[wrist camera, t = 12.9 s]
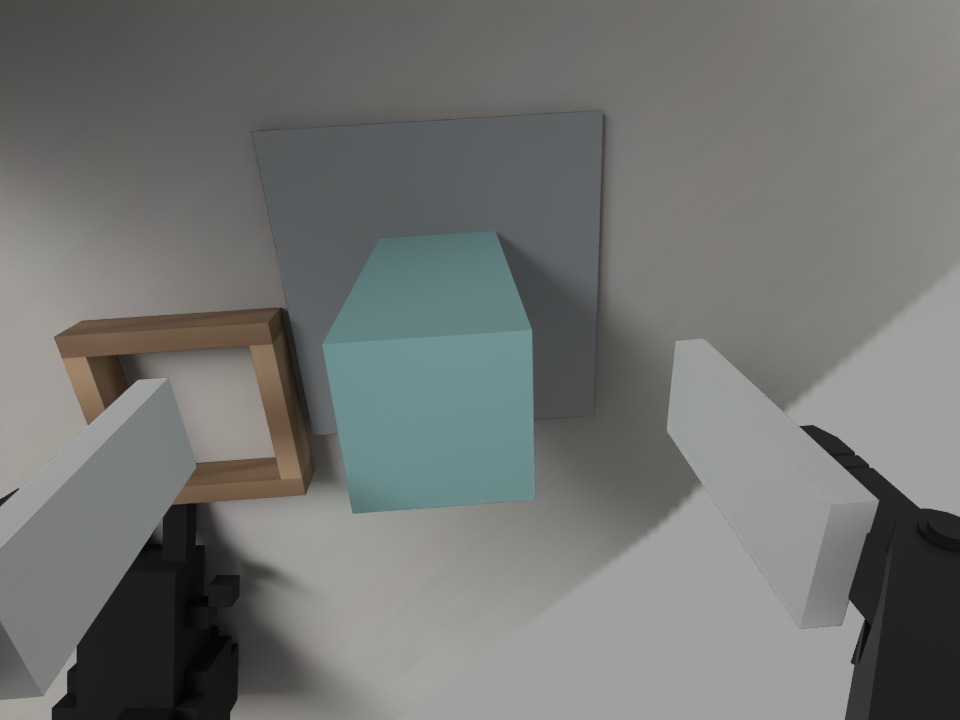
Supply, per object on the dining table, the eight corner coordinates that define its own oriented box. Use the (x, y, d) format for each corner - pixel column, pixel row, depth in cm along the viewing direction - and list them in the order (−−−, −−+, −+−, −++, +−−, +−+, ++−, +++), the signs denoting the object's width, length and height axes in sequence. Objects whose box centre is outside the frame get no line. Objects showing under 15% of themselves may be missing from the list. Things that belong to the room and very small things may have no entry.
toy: (205, 520, 26) (200, 836, 27) (261, 473, 34) (256, 717, 35) (-12, 515, 25) (-10, 840, 26) (99, 469, 33) (97, 718, 34)
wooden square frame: (81, 320, 26) (54, 337, 24) (280, 307, 26) (267, 322, 24) (140, 483, 30) (119, 508, 28) (314, 470, 30) (305, 494, 28)
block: (379, 238, 24) (322, 344, 14) (495, 230, 25) (531, 329, 14) (393, 345, 27) (352, 513, 16) (500, 338, 27) (535, 499, 16)
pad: (256, 131, 23) (251, 131, 23) (599, 110, 23) (603, 110, 23) (315, 429, 29) (313, 435, 28) (591, 409, 29) (593, 415, 29)
